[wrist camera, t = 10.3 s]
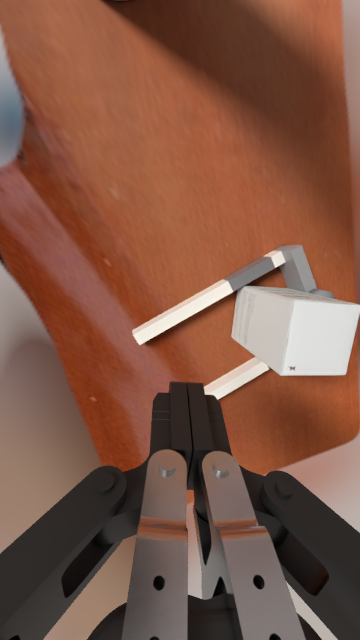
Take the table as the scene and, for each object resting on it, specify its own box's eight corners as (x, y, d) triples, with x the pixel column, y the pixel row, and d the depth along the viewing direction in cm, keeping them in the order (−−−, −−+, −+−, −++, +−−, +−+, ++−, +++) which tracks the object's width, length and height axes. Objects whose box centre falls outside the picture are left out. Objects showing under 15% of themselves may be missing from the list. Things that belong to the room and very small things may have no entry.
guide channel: (132, 330, 36) (134, 346, 30) (285, 243, 37) (316, 242, 32) (181, 411, 40) (192, 438, 34) (318, 330, 41) (350, 343, 36)
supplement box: (279, 339, 40) (346, 378, 28) (229, 337, 39) (278, 378, 27) (288, 287, 39) (365, 304, 27) (237, 282, 37) (294, 299, 25)
